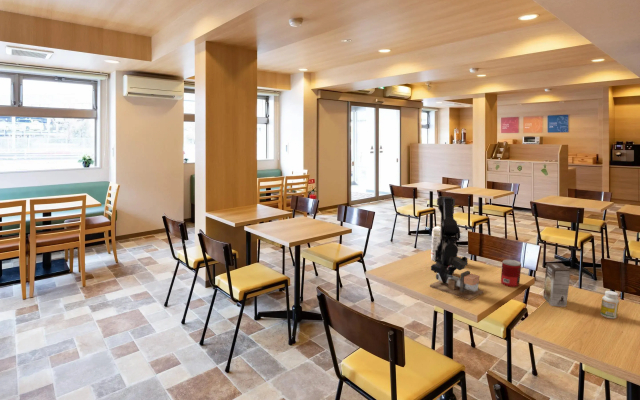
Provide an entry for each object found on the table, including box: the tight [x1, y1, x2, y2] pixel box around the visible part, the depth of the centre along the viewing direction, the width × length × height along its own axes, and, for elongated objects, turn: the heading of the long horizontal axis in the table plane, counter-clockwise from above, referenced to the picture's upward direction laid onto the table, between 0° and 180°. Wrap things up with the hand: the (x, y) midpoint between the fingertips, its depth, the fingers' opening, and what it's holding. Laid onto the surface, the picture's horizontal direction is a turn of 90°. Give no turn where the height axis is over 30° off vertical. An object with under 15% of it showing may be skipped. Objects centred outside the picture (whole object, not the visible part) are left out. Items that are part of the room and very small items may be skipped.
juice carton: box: [430, 225, 441, 262], centre depth 220 cm, size 8×9×19 cm
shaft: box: [435, 273, 479, 292], centre depth 179 cm, size 19×4×4 cm, turn 41°
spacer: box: [464, 273, 480, 286], centre depth 173 cm, size 4×6×3 cm, turn 131°
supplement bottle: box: [600, 290, 620, 319], centre depth 153 cm, size 5×5×10 cm
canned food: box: [500, 259, 522, 288], centre depth 186 cm, size 8×8×11 cm
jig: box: [429, 270, 484, 301], centre depth 179 cm, size 20×12×10 cm, turn 41°
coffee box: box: [542, 262, 572, 307], centre depth 165 cm, size 9×6×16 cm
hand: (446, 282), depth 183 cm, fingers open, 4 cm apart
